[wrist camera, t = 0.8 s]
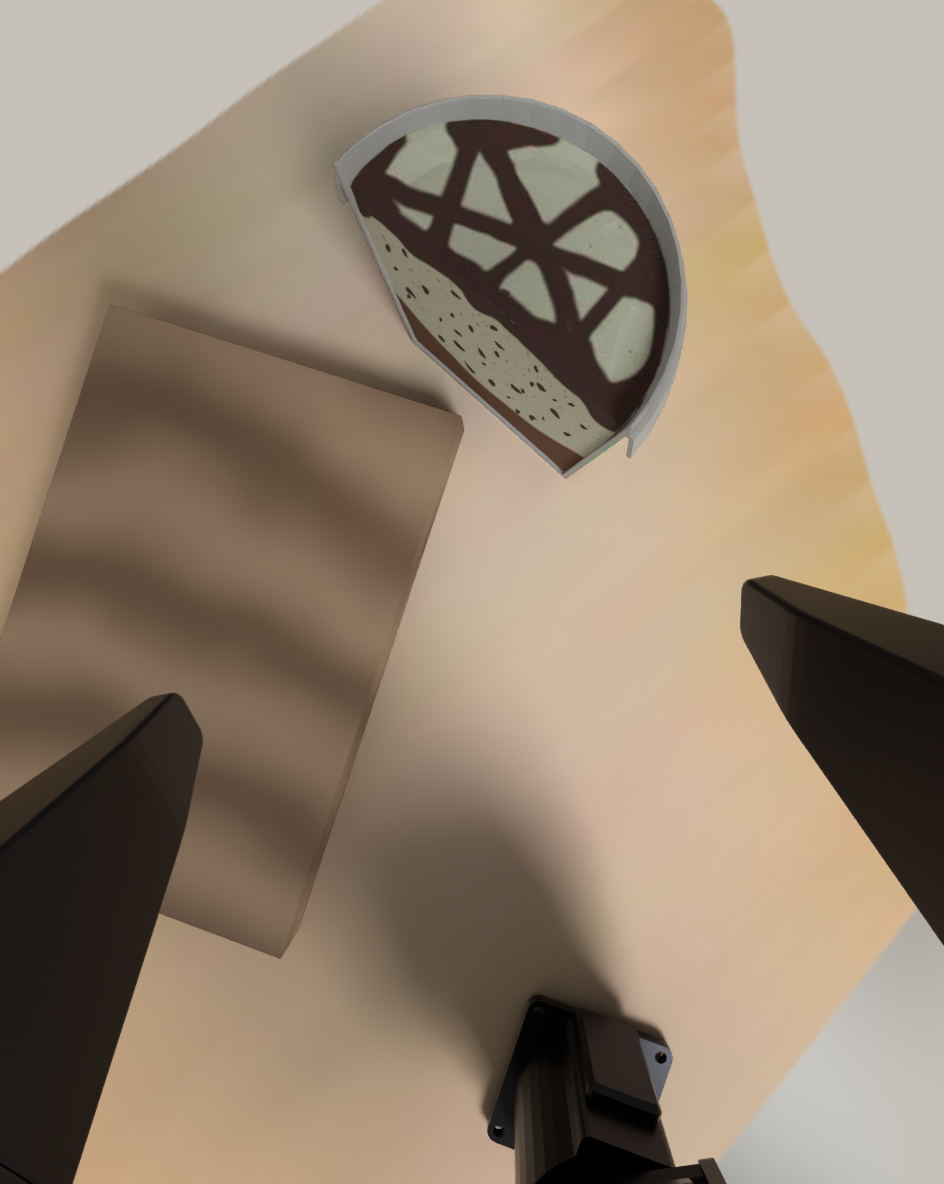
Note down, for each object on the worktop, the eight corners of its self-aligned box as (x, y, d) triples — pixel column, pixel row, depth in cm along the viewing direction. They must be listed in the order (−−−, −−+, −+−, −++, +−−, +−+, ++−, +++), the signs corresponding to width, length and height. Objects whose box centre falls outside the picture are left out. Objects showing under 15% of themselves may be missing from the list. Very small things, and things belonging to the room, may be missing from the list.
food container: (684, 398, 26) (802, 271, 16) (590, 501, 26) (646, 441, 16) (479, 218, 26) (465, -17, 16) (388, 320, 26) (319, 151, 16)
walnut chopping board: (297, 931, 26) (280, 958, 24) (-21, 813, 27) (-62, 830, 25) (464, 429, 26) (461, 416, 24) (138, 325, 27) (109, 304, 25)
